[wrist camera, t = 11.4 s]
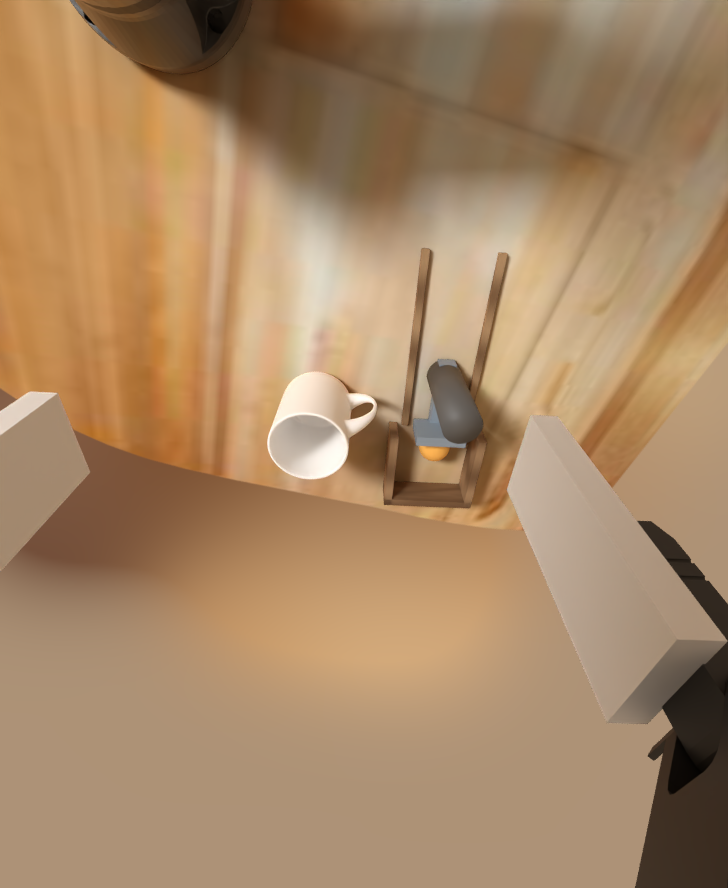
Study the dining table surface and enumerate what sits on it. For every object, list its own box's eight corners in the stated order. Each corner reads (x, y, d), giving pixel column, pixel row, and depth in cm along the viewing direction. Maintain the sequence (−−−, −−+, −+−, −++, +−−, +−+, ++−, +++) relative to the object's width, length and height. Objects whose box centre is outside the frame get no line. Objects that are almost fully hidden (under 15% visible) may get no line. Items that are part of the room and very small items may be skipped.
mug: (384, 415, 54) (387, 464, 45) (298, 435, 56) (284, 486, 47) (367, 354, 49) (367, 396, 40) (273, 378, 51) (254, 423, 42)
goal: (389, 421, 54) (390, 438, 51) (479, 426, 55) (487, 442, 51) (383, 486, 60) (384, 504, 57) (464, 489, 61) (470, 508, 57)
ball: (419, 465, 53) (415, 454, 56) (450, 466, 53) (444, 455, 57) (422, 435, 51) (418, 426, 55) (454, 436, 52) (448, 427, 55)
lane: (421, 248, 43) (422, 249, 42) (506, 252, 43) (507, 253, 42) (401, 422, 54) (401, 424, 54) (467, 425, 55) (468, 427, 54)
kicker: (421, 358, 49) (434, 407, 39) (471, 360, 49) (497, 410, 39) (412, 423, 54) (422, 482, 44) (457, 425, 54) (478, 484, 44)
